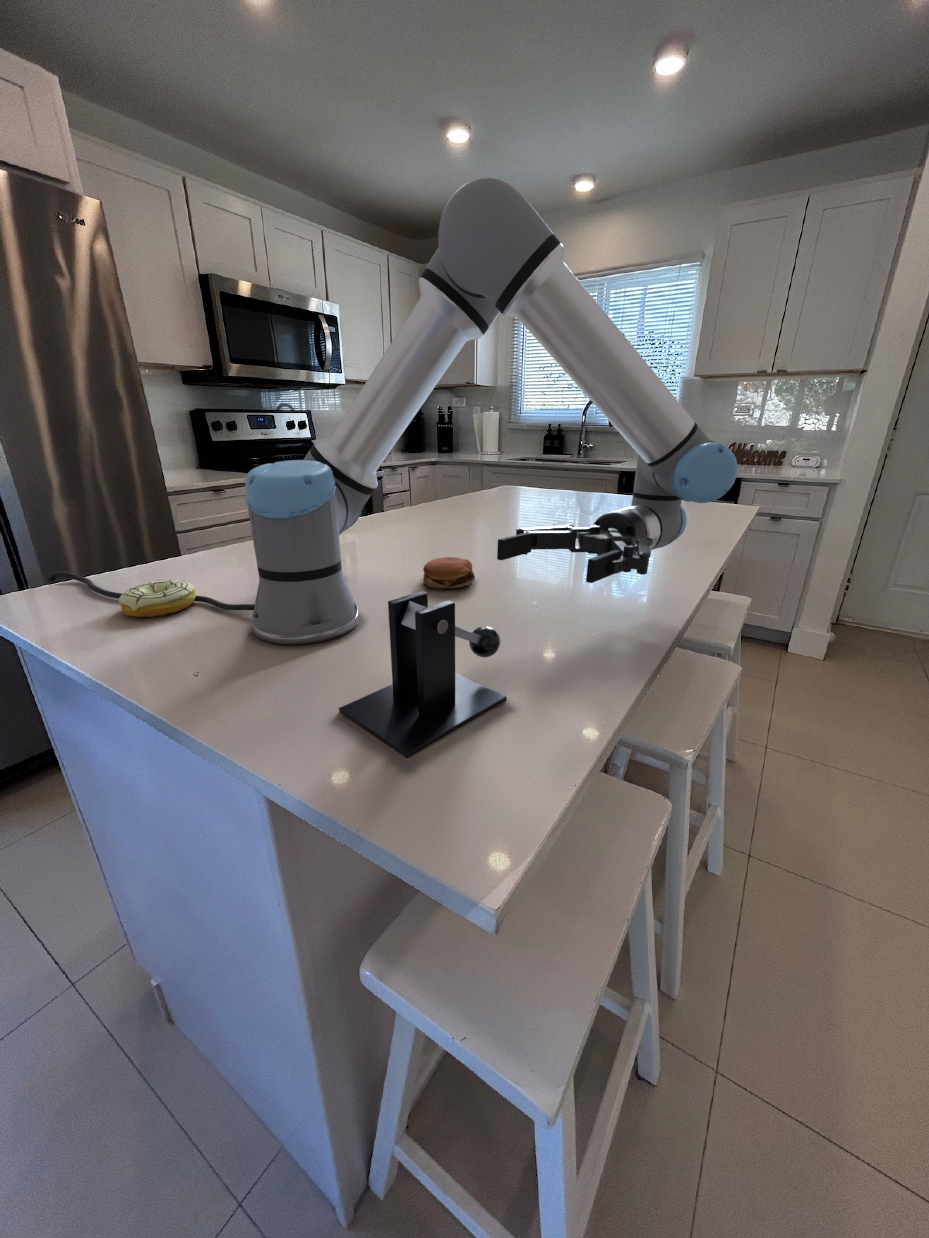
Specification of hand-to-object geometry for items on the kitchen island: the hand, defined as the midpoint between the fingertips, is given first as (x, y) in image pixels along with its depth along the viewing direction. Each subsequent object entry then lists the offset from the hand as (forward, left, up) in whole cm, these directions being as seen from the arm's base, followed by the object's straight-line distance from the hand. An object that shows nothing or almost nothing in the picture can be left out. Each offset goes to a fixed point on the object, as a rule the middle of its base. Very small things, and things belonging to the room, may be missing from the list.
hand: (541, 560), depth 63 cm
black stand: (-9, -18, -13) cm, 24 cm away
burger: (-21, +26, -13) cm, 36 cm away
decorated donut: (-62, -1, -13) cm, 63 cm away
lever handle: (-7, -14, -7) cm, 17 cm away
